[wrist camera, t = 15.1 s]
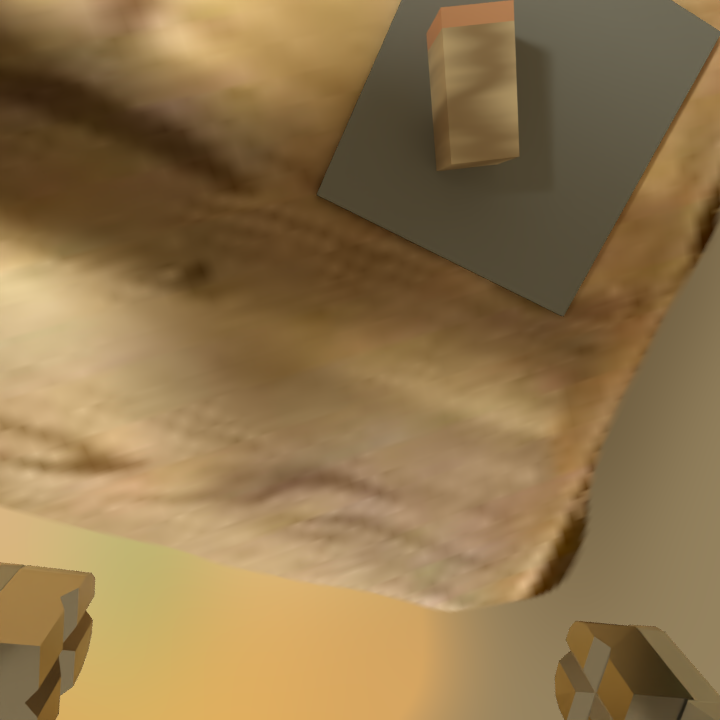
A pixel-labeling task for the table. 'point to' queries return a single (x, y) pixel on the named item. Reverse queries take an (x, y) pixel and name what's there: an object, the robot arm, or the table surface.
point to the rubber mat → (524, 139)
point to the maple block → (473, 85)
